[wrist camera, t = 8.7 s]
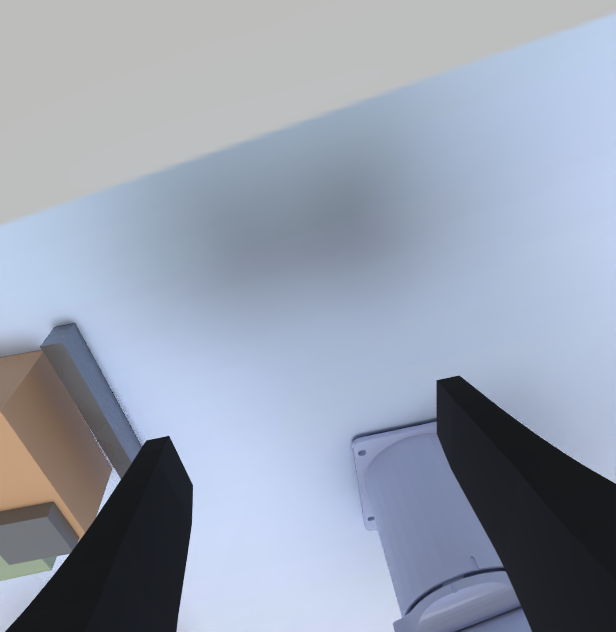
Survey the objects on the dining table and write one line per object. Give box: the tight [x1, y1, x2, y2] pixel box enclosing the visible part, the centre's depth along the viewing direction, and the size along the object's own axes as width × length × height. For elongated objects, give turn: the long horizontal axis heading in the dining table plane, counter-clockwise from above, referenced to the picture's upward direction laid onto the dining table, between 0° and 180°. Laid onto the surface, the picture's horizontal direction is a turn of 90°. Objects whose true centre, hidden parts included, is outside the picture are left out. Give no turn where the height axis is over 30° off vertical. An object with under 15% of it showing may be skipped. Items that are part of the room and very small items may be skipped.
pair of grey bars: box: [40, 323, 142, 479], centre depth 23 cm, size 13×8×2 cm, turn 9°
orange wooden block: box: [0, 350, 112, 565], centre depth 21 cm, size 9×4×5 cm, turn 7°
